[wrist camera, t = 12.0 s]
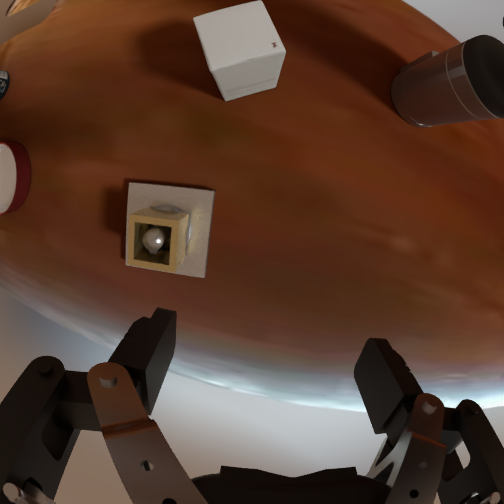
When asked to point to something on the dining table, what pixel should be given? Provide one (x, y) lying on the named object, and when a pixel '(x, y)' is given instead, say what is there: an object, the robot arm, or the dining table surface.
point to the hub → (162, 259)
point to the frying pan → (13, 176)
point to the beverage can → (3, 83)
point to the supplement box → (241, 49)
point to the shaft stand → (159, 236)
